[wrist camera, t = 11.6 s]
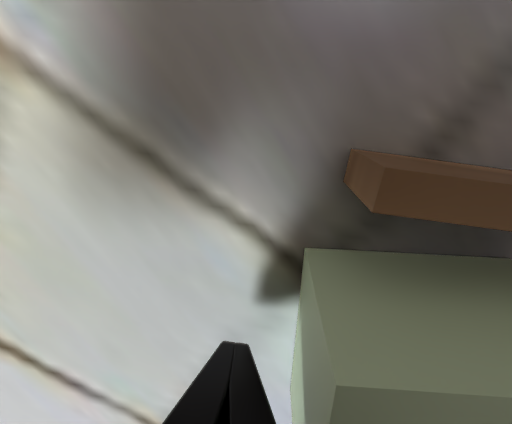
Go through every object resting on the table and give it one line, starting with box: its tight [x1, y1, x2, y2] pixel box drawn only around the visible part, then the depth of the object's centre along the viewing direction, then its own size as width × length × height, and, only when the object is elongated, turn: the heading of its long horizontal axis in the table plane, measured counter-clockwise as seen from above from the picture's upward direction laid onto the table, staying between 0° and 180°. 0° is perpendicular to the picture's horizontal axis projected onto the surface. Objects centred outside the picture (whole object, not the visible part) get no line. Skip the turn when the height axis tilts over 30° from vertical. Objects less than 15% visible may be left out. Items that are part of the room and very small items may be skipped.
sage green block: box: [290, 248, 512, 424], centre depth 7 cm, size 6×6×4 cm
